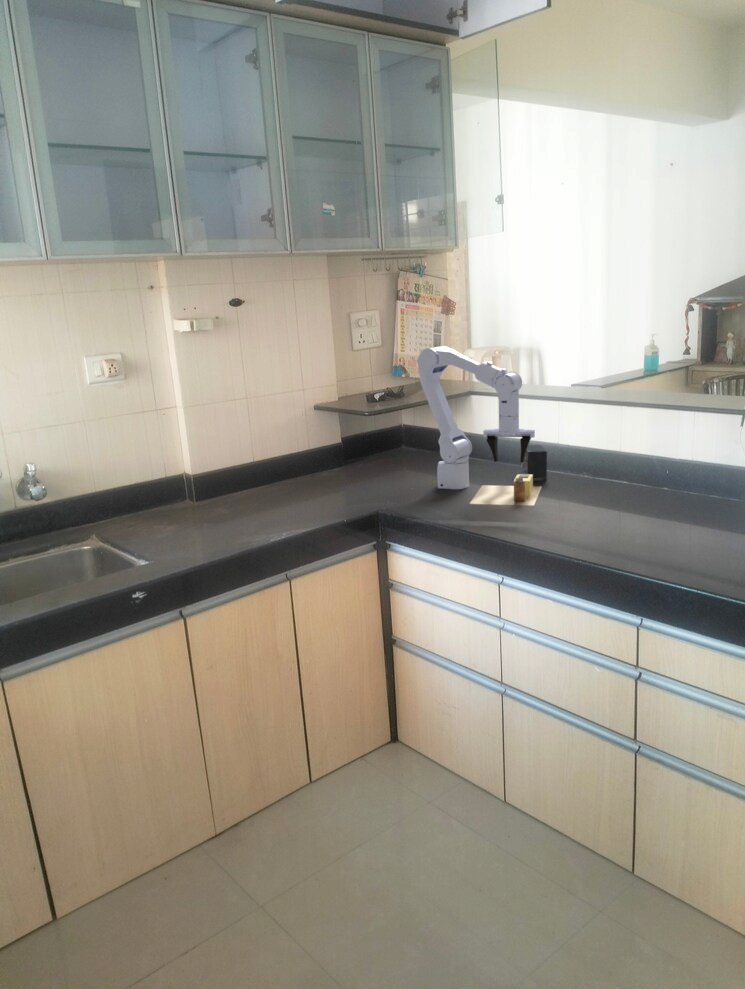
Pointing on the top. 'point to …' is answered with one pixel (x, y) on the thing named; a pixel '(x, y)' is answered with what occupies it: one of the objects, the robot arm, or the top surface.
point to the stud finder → (527, 482)
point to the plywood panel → (503, 496)
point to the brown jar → (519, 490)
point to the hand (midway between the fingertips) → (509, 461)
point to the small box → (535, 462)
